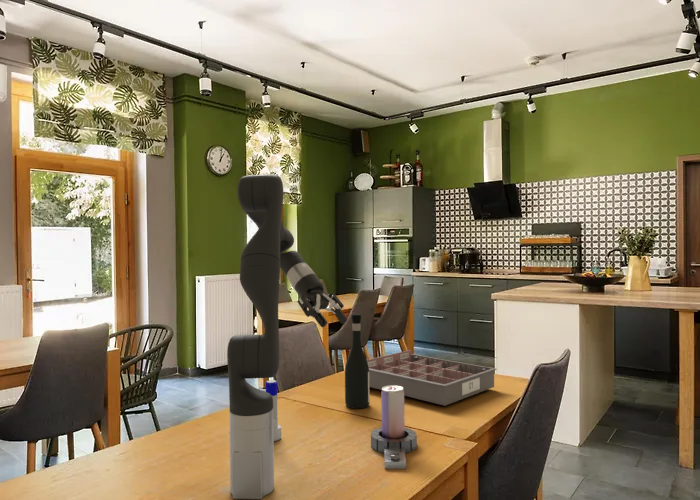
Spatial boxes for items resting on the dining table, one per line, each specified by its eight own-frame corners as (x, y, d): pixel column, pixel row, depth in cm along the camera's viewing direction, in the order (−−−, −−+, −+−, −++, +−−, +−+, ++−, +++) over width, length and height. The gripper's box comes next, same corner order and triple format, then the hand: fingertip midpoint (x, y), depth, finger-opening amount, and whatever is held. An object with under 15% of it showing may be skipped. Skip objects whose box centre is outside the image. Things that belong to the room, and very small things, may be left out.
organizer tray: (445, 411, 165) (445, 379, 165) (355, 388, 194) (355, 361, 194) (497, 390, 188) (497, 363, 188) (410, 372, 216) (409, 348, 216)
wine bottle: (360, 400, 177) (359, 312, 176) (374, 406, 170) (373, 314, 170) (340, 404, 172) (339, 314, 172) (353, 411, 166) (352, 316, 165)
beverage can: (378, 447, 135) (377, 389, 135) (387, 439, 141) (386, 384, 141) (399, 451, 133) (398, 392, 132) (408, 443, 138) (407, 386, 138)
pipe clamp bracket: (420, 469, 122) (420, 456, 122) (370, 468, 122) (369, 455, 122) (412, 426, 151) (412, 416, 151) (372, 426, 151) (371, 415, 151)
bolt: (284, 439, 142) (267, 443, 139) (276, 434, 146) (259, 437, 143) (283, 381, 142) (266, 384, 139) (276, 378, 146) (259, 380, 143)
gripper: (294, 273, 146) (325, 317, 139) (327, 271, 158) (358, 312, 150) (281, 291, 150) (311, 335, 143) (314, 288, 161) (343, 329, 154)
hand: (335, 323), depth 147 cm, fingers open, 8 cm apart
